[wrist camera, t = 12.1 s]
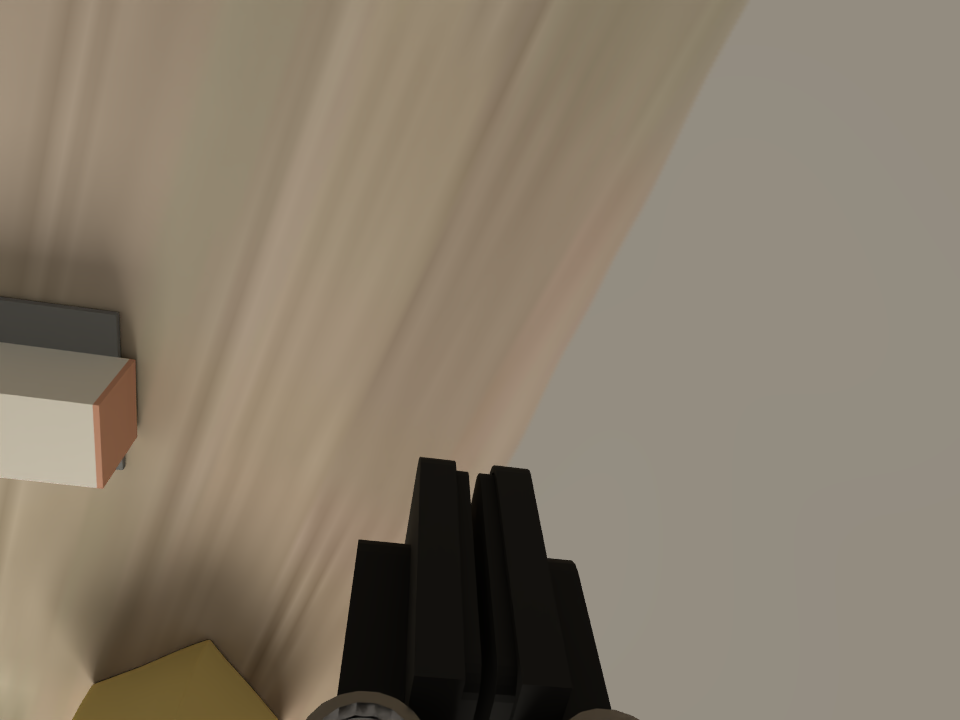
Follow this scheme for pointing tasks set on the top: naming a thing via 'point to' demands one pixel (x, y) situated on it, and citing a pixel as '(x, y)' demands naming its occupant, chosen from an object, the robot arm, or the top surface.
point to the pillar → (64, 415)
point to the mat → (60, 328)
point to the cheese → (176, 691)
